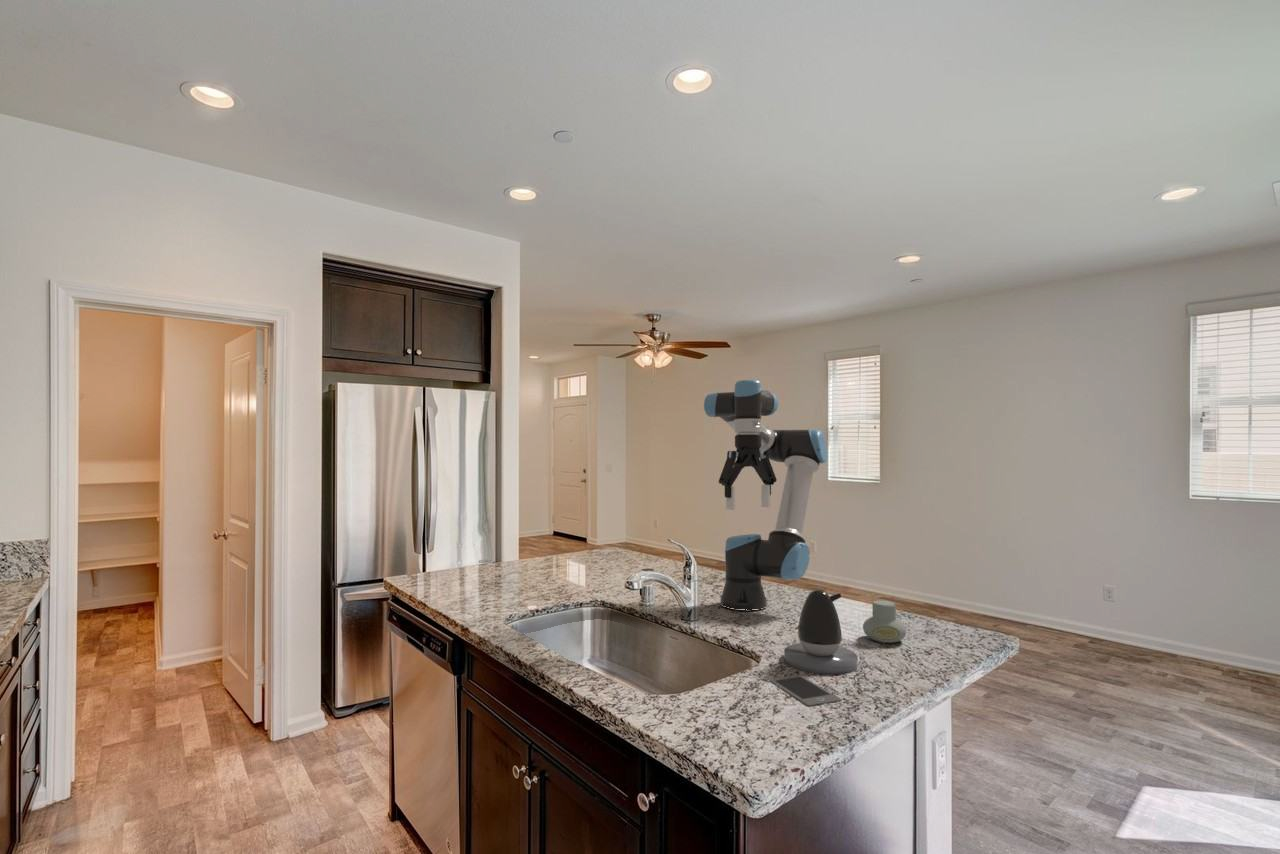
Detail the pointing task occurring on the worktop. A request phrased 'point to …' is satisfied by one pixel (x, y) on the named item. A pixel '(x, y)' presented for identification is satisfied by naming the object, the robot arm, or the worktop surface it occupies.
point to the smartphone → (805, 690)
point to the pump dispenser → (820, 624)
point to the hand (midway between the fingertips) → (748, 508)
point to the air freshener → (884, 623)
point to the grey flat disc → (821, 660)
